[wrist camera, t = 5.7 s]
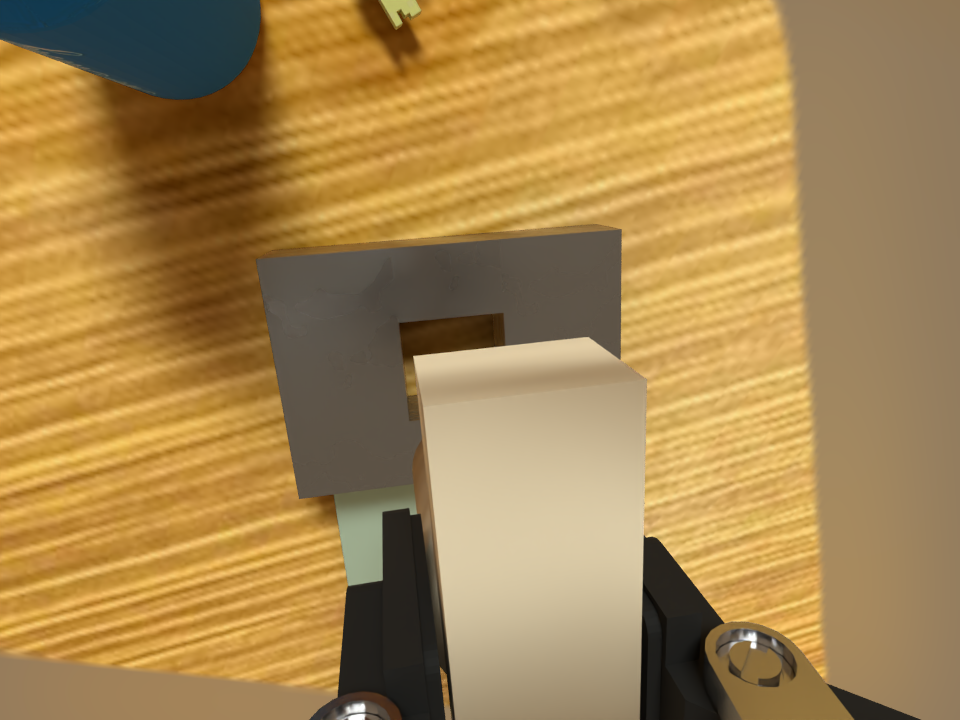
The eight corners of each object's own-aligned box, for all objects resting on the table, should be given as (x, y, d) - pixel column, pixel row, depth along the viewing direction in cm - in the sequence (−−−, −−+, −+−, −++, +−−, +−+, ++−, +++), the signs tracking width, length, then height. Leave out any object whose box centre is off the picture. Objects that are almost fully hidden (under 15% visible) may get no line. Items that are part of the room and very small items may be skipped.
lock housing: (309, 465, 27) (299, 498, 24) (271, 250, 24) (255, 259, 21) (597, 430, 29) (619, 457, 26) (596, 224, 26) (621, 229, 23)
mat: (355, 619, 30) (355, 627, 29) (333, 482, 27) (332, 488, 27) (580, 584, 31) (583, 591, 31) (578, 450, 29) (581, 456, 28)
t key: (391, 288, 14) (404, 409, 6) (513, 276, 14) (663, 377, 7) (430, 626, 17) (470, 984, 9) (529, 609, 17) (646, 938, 10)
